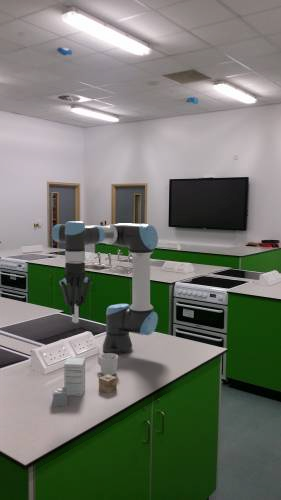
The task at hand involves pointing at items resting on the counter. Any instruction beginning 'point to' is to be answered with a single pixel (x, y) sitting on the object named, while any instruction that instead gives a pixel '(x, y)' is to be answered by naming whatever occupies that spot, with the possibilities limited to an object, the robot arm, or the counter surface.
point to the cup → (108, 363)
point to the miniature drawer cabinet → (74, 376)
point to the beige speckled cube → (107, 383)
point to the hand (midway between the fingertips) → (75, 321)
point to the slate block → (59, 396)
